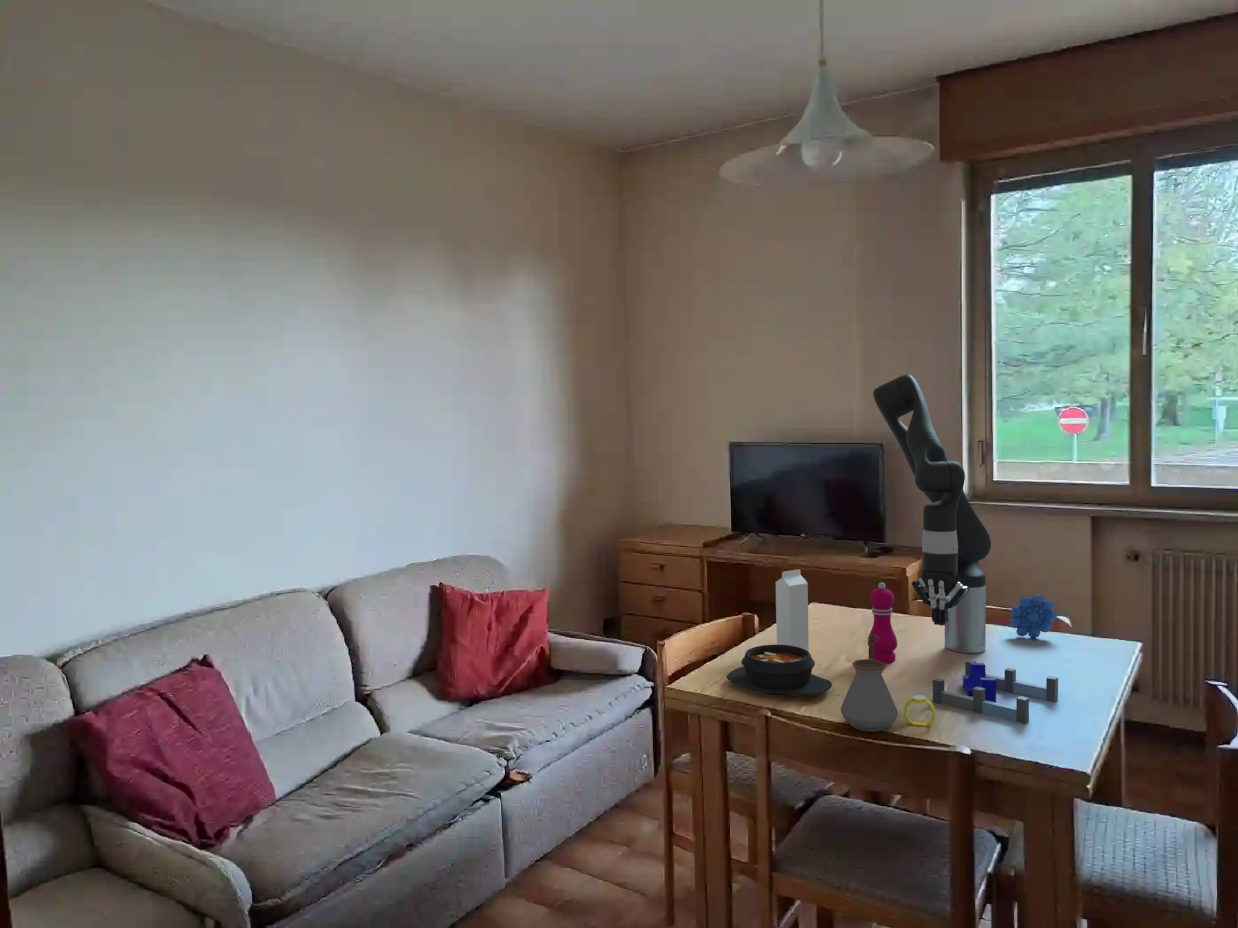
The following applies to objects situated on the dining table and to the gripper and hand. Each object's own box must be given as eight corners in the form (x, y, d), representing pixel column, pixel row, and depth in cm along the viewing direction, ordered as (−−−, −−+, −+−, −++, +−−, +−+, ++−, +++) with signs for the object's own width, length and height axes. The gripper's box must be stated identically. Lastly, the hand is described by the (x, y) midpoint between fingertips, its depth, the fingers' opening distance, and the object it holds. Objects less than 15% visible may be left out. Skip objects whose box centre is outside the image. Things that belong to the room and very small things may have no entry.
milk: (776, 651, 234) (774, 569, 233) (795, 647, 237) (793, 567, 235) (790, 657, 229) (788, 573, 227) (809, 653, 232) (807, 570, 230)
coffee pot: (897, 737, 175) (896, 664, 174) (837, 731, 179) (836, 659, 178) (900, 700, 195) (900, 634, 194) (847, 696, 199) (846, 631, 198)
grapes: (1055, 635, 241) (1055, 591, 240) (1057, 642, 234) (1058, 597, 233) (1008, 632, 245) (1008, 589, 244) (1009, 638, 238) (1010, 595, 237)
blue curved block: (963, 687, 203) (963, 662, 202) (983, 688, 202) (983, 662, 201) (974, 706, 191) (974, 679, 190) (996, 707, 190) (996, 680, 190)
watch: (905, 727, 181) (902, 699, 181) (905, 722, 184) (903, 694, 183) (936, 728, 179) (933, 699, 179) (935, 723, 182) (933, 694, 181)
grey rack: (932, 701, 194) (932, 679, 194) (968, 680, 207) (968, 659, 206) (1025, 723, 180) (1025, 700, 179) (1057, 699, 193) (1058, 677, 192)
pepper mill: (863, 656, 228) (862, 580, 226) (890, 654, 228) (890, 578, 227) (874, 664, 221) (873, 586, 219) (902, 663, 221) (901, 584, 219)
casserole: (844, 685, 206) (844, 650, 206) (811, 710, 191) (810, 672, 191) (749, 668, 221) (749, 635, 221) (711, 690, 206) (710, 655, 206)
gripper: (904, 548, 202) (904, 623, 203) (961, 555, 192) (961, 633, 194) (919, 543, 207) (920, 616, 208) (976, 549, 197) (976, 625, 199)
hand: (940, 624), depth 201 cm, fingers closed
